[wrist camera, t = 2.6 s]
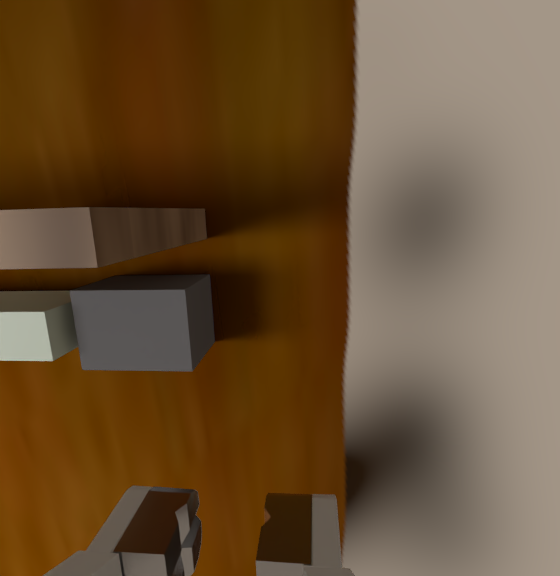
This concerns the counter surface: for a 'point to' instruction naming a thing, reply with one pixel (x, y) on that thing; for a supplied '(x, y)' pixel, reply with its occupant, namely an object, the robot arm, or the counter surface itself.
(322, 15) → the counter surface
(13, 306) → the sliding door
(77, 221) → the wall frame
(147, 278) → the block
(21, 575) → the counter surface
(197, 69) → the counter surface
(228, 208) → the counter surface
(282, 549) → the robot arm
